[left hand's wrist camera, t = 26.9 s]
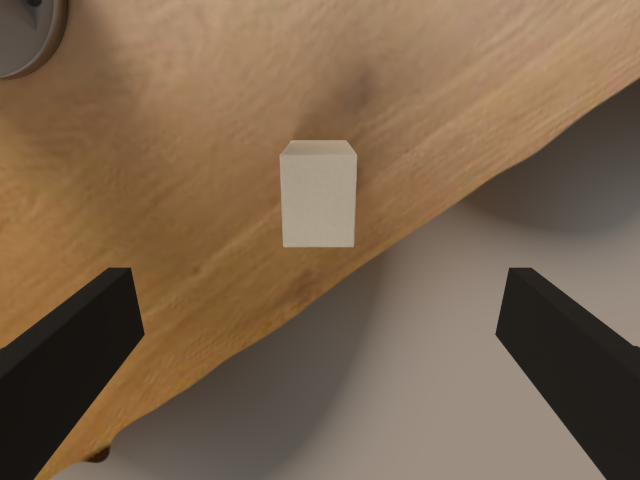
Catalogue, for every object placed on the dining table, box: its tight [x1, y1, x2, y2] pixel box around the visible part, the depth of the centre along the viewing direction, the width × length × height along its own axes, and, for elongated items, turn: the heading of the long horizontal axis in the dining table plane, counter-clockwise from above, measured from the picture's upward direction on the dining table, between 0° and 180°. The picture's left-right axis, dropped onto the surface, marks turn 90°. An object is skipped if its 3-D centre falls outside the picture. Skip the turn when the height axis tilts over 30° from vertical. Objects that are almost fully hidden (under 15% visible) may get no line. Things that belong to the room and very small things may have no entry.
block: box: [280, 140, 358, 247], centre depth 30 cm, size 7×5×11 cm
